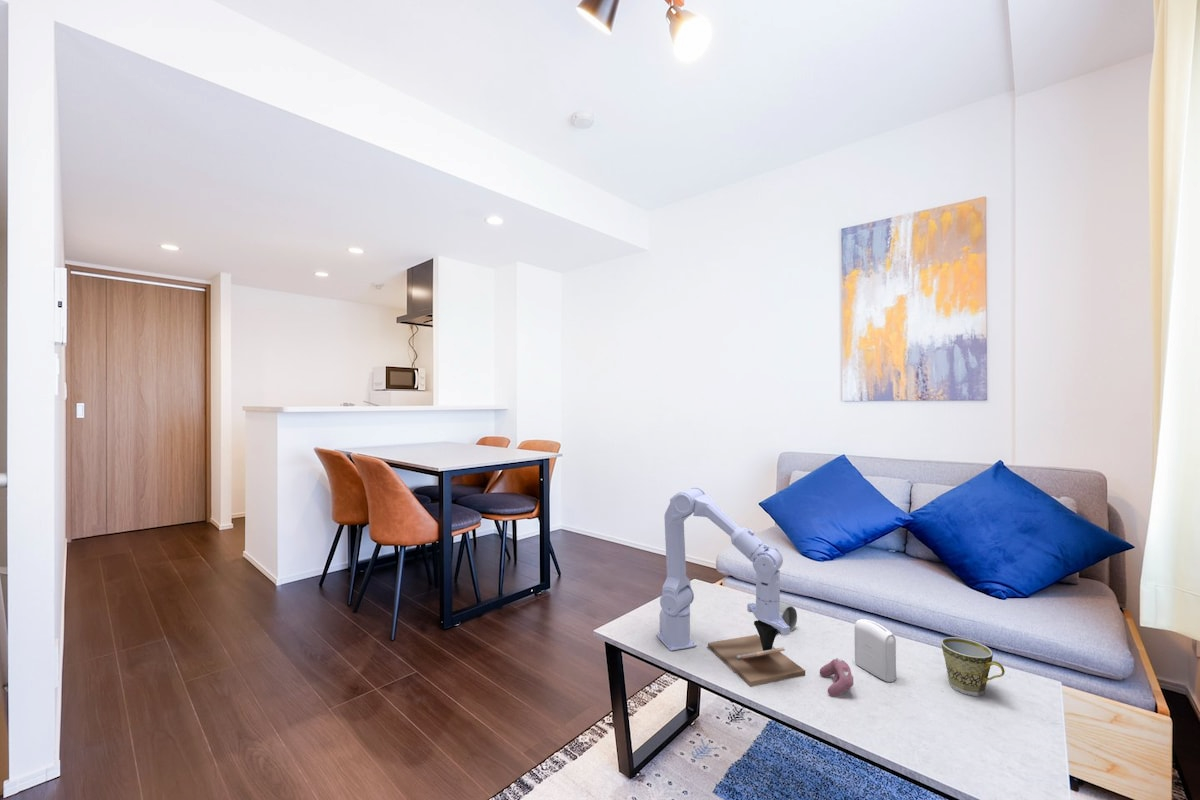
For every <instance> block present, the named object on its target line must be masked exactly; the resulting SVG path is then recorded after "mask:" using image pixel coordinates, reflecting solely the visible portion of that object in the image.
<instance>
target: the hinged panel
mask: <svg viewBox="0 0 1200 800" xmlns="http://www.w3.org/2000/svg"><path fill="white" fill-rule="evenodd" d="M775 648H776V647H775ZM785 651H786V649H785V646H783V647H777V648H776V649H771V650H765V651H760V652H754V653H749V654H744V655H738V656H737V659H741V658H747V657H753V656H758V655H764V654H769V653H775V652H785ZM741 656H742V657H741Z"/></svg>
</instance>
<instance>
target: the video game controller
mask: <svg viewBox="0 0 1200 800" xmlns="http://www.w3.org/2000/svg"><path fill="white" fill-rule="evenodd" d="M819 675H820V676H821V677H823V678H827V677H830V676H833V678H832V680H833V682H834V683H833V684H831V685H830V686H829V687H828V689H827V695H829V696H831V697H838V696H841V695H843V694H845V692H847V691H848V690H850V689H851V688H852V687H853V686H854V676H853V675H852V671H851V668H850V666H849V664H848V663H847V662H846V661H845V660H843V659H842V658H840V659H839V658H837V657H836V658H834V659H832V660H831V661H829V663H827V664H825V665H823V666H822V667H820V669H819Z"/></svg>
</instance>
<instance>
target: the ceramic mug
mask: <svg viewBox="0 0 1200 800" xmlns="http://www.w3.org/2000/svg"><path fill="white" fill-rule="evenodd" d="M780 613H782V614H783V616H782V617H781V618H782V619H783V620H784V622H785V623H786V624H787V625H788V626H789V627H790V633H791V632H792V631H793V630H794V629H795V628H796V625H797V622H798V613H797V610H796V608H795V607H794V606H793V605H791V604H790V605H789V604H786V603H783V602H780Z"/></svg>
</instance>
